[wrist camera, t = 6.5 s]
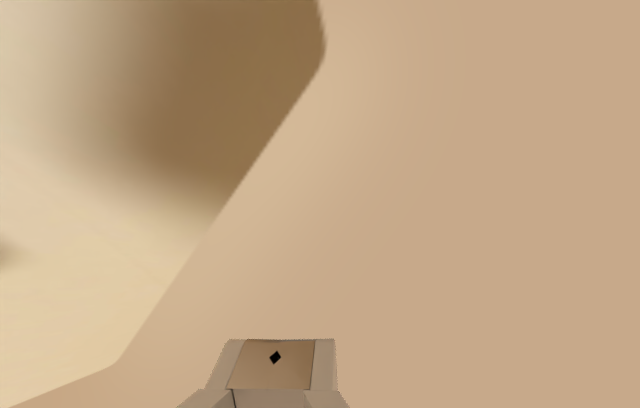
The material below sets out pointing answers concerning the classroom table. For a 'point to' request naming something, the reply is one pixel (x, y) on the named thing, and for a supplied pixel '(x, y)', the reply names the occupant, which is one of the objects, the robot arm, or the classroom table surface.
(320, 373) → the robot arm
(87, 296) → the classroom table surface
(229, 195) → the classroom table surface
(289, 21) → the classroom table surface
